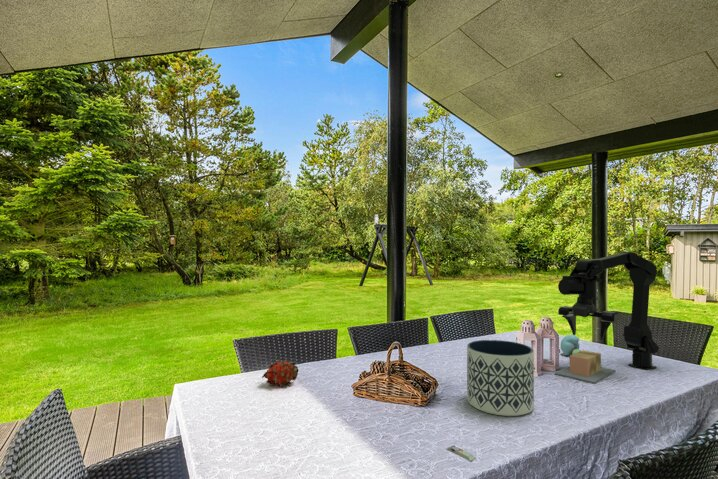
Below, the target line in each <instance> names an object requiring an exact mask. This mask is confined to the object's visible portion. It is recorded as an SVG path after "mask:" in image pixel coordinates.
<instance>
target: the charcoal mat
mask: <svg viewBox="0 0 718 479" xmlns="http://www.w3.org/2000/svg"><path fill="white" fill-rule="evenodd" d="M614 373H616V369H612V368H607V367H603V366H601V370H600V371H598V372H596V373H595V374H593V375H591V376H589V377H586V376H581V375H577V374H573V373H570V365H568V366H566V367H564V368H562V369H559V370H558V371H556V372H554V375H556V376H560V377H564V378H569V379H572V380H577V381H581V382H585V383H589V384H593V385H595V384H598V382H600V381H601V382H602V380H604V379H606V378H608V377H609V376H611V375H612V374H614Z"/></svg>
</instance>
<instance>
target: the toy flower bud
mask: <svg viewBox="0 0 718 479" xmlns="http://www.w3.org/2000/svg"><path fill="white" fill-rule="evenodd" d="M559 345H560V350H561V351H562V353H563V354H564V355H565V356H568V357H570V355H573V354H575V353H578V352H580V351H582V350H581V349H580V338H579V337H578V336H577V335H573V334H566V335H565V336H564V337H563V338H562V339H561V340H560V344H559Z"/></svg>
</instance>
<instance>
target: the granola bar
mask: <svg viewBox="0 0 718 479" xmlns="http://www.w3.org/2000/svg"><path fill="white" fill-rule="evenodd" d="M446 449H447V451H450V452H452V453H453V454H456V455H458V456H460V457H462V458H464V459H465V460H467V461H470V462H471V461H474V460H475V459H476V458H477V457H476V456H475V455H473V454H472V453H470V452H468V451H466V450H465V449H462V448H460V447H458V446H456V445H451V446H448V447H447V448H446Z"/></svg>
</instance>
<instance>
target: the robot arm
mask: <svg viewBox="0 0 718 479" xmlns="http://www.w3.org/2000/svg"><path fill="white" fill-rule="evenodd" d="M618 266H623V267H624V268H625V269H626V270H627V271H628V274H629V275H628V276H629V278H630V281H631V282H632V284H633V286H632V288H633V291H632V304H631V317H630V318H631V319H630V323H629V324H628V325H624V326H623V334H622V336H623V338H624V341H625V344H626V346H627V349H632V356H631V357H632V358H631V359H632V361H631V363H628V366H632V367H635V368H638V369H641V370H652V369H657V366H656V365H653V354H658V352H659V349H660V348H659V345H658V344H657V343H656V342H655V341H654V340H653V335H652V334H653V333H652V331H651V329H650V326H649V325H648V318H649V317H648V316H649V315H648V314H649V300H650V298H649V297H650V287H651V285H652V284H653V283H654V281H655V280H656V277H657V271H658V267H657V266H656V265H655V264H654V263H653V262H652V261H649V260H648V259H646V258H645V257H641V256H640V255H638V254H637V253H635V252H634V251H621V252H619V253H615V254H611V255H608V256H605V257H603V256H602V257H600V258H587V259H584V258H583V259H579V260H576V264H575V265H574V267H573V268H572V270H571V272H570V273H569V275H562V279H560V280H559V283H558V286H557V287H558V291H559V293H560V294H561V295H564V296H566V295H567V296H568V295H569V296H573V295H578V296H577V299H576V302H575V303H573V305H572V306H568V305H564V306H560V307H559V308H558V309H557V310H558V311H557V312H558V313H557V314H558V315H559V316H561V317H562V318H563V319H565V320H566V321H567V322H568V324H569V328H570V330H571V333H572V335H575V336H577V335H576V334H577V317H582V318H587V317H595V318H601V319H602V320H600V340H601V341H602V340H603V339H605V338H604V337H605V336H606V333H607V331H608V329H609V328H610V326H611V325H612V323H614V322H617V321H619V320H620V314H619V312H618V311H613V310H605V311H599V309H598V308H597V307H598V305H597V304H598V303H597V301H598V300H599V297H598V296H597V294H598V293H597V290H598V289H597V283H598V282H599V283H601V282H602V279H601V278H600V277H598V275H600V274H602V273H603V272H604V271H605V270H607V269H611V268H614V267H618Z"/></svg>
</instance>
